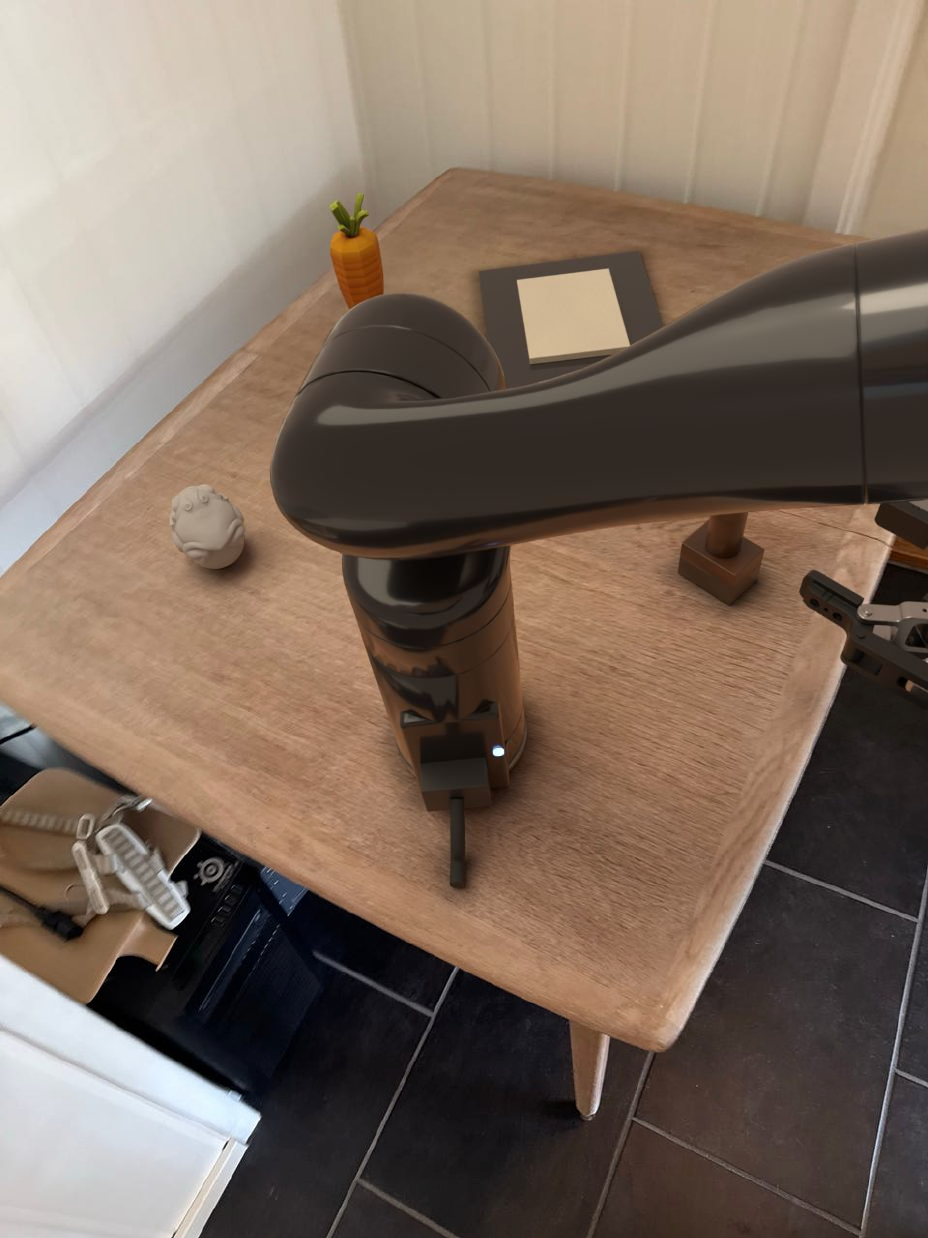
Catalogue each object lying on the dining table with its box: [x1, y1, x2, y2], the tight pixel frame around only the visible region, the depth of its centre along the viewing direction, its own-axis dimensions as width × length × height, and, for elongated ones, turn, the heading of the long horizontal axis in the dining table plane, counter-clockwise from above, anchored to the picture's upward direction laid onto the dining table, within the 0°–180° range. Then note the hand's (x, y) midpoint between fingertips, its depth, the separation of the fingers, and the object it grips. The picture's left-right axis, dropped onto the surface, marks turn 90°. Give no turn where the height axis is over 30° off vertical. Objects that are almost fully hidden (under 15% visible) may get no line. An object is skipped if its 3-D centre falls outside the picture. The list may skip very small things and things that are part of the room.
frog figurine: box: [169, 483, 246, 570], centre depth 74 cm, size 6×7×7 cm
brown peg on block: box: [677, 512, 765, 606], centre depth 65 cm, size 5×4×12 cm
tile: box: [478, 250, 664, 389], centre depth 91 cm, size 22×18×1 cm
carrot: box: [329, 192, 385, 310], centre depth 88 cm, size 5×5×15 cm
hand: (843, 544), depth 57 cm, fingers open, 8 cm apart
